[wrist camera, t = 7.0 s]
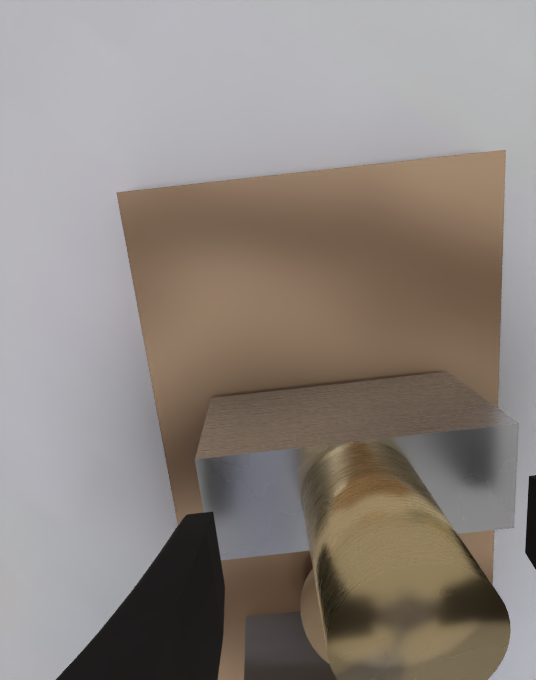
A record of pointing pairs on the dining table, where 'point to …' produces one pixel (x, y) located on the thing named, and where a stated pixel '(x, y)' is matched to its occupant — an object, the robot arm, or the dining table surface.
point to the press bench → (311, 330)
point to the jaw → (373, 513)
